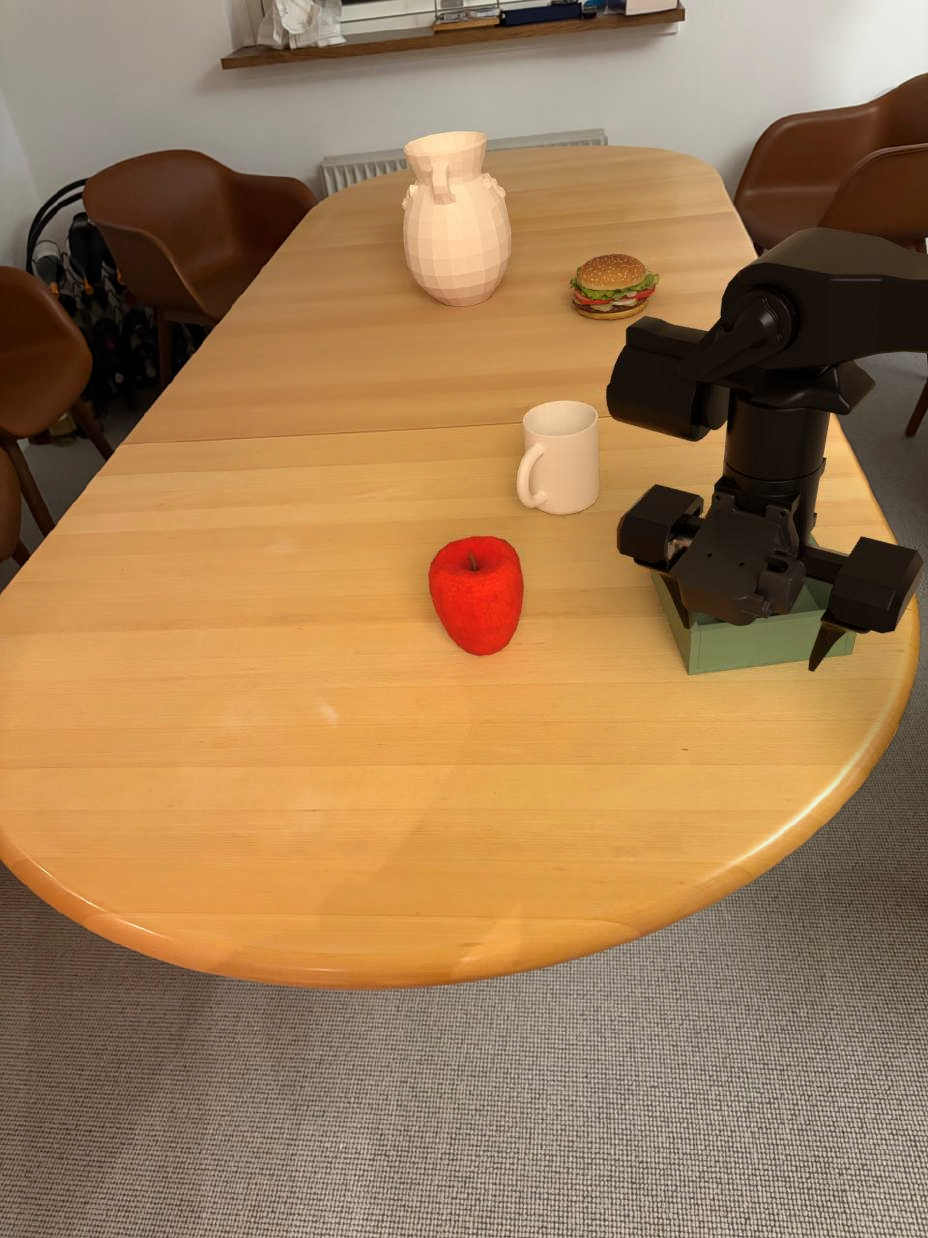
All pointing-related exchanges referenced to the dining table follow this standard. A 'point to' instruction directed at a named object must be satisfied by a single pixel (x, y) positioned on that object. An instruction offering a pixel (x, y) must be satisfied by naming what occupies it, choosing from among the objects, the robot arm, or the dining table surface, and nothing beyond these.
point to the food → (612, 287)
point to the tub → (753, 633)
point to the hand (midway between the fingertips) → (749, 646)
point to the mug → (560, 458)
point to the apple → (478, 592)
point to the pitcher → (455, 219)
